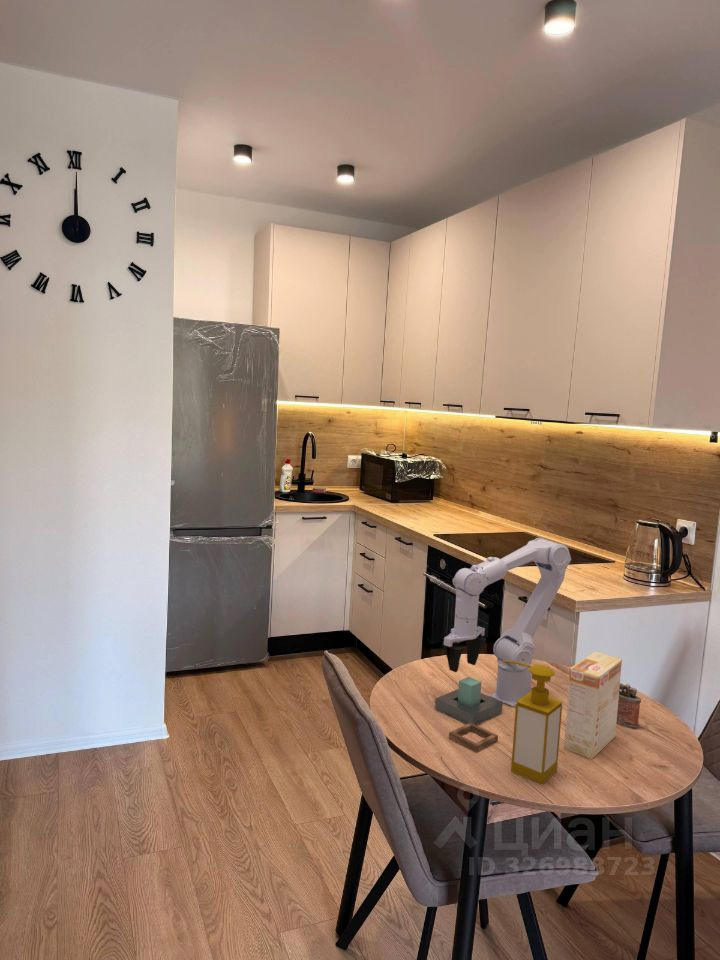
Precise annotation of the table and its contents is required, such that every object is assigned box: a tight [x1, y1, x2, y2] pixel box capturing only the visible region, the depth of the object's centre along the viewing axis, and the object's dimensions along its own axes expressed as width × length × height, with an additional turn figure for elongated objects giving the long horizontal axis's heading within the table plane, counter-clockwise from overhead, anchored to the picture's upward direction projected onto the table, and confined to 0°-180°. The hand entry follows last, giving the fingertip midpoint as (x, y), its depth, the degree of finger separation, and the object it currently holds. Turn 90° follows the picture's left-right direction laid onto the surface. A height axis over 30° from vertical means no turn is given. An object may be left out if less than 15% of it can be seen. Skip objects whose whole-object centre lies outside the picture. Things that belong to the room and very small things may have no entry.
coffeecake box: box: [563, 651, 623, 760], centre depth 158 cm, size 15×7×20 cm, turn 139°
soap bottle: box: [503, 660, 563, 785], centre depth 146 cm, size 7×13×24 cm, turn 50°
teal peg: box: [458, 676, 482, 707], centre depth 172 cm, size 4×4×8 cm
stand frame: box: [448, 723, 499, 753], centre depth 158 cm, size 8×8×2 cm
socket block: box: [434, 688, 504, 726], centre depth 173 cm, size 12×12×3 cm
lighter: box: [616, 682, 642, 730], centre depth 170 cm, size 8×3×10 cm, turn 47°
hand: (462, 667), depth 175 cm, fingers open, 7 cm apart
